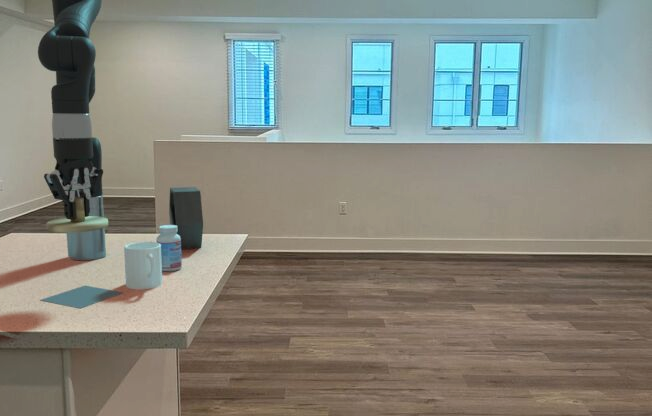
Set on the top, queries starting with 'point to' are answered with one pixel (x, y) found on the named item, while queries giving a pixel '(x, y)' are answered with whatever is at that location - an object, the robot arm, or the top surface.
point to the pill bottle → (170, 247)
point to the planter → (187, 215)
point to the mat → (82, 296)
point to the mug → (143, 265)
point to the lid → (77, 221)
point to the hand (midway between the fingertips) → (77, 217)
